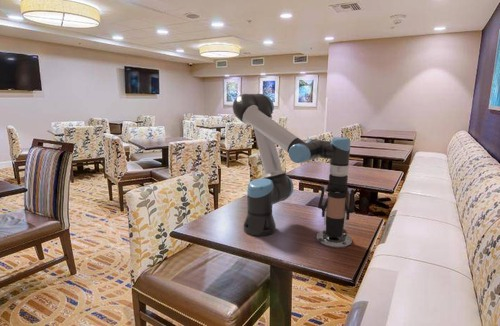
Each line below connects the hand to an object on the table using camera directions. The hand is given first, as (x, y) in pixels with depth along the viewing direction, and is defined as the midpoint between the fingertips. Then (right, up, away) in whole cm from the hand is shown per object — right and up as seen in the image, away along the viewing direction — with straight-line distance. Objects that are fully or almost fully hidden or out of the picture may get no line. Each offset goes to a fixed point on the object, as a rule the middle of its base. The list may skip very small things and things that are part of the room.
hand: (334, 225), depth 138 cm
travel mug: (0, -4, +1) cm, 4 cm away
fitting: (+1, -6, +4) cm, 8 cm away
